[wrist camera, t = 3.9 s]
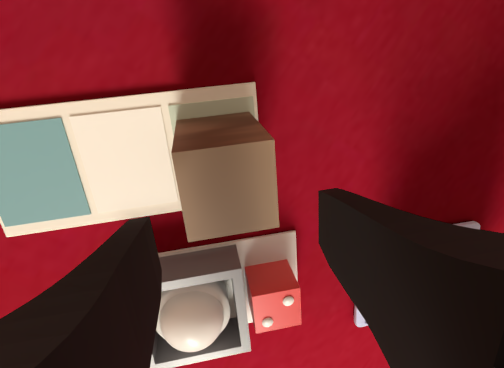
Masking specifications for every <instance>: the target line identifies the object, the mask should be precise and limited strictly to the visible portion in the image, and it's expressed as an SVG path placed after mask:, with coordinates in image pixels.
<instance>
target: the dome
mask: <svg viewBox="0 0 504 368" xmlns="http://www.w3.org/2000/svg"><path fill="white" fill-rule="evenodd" d="M229 318H230V306H229V300H228V294H227V288H226V285H225V283H224V281H223V280H222V281H216V282H211V283H205V284H200V285H194V286H189V287H183V288H178V289H172V290H167V291H161V303H160V309H159V315H158V322H157V328H156V331H157V332H158V334H159V335H160V336H161V337H163V338H164V339H165V340H166V341H167V342H168V343H169V344H170V345H171V346H172V347H173V348H175V349H177V350H179V351H183V352H196V351H200V350H203V349H205V348H206V347H208V346H209V345H211V344H212V343H213V342H214V341H215V339H216V338H217V337H218V335H219V334H220V333H221V332H222V331H223V330H224V328H225V327H226V325H227V324H228V321H229Z"/></svg>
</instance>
